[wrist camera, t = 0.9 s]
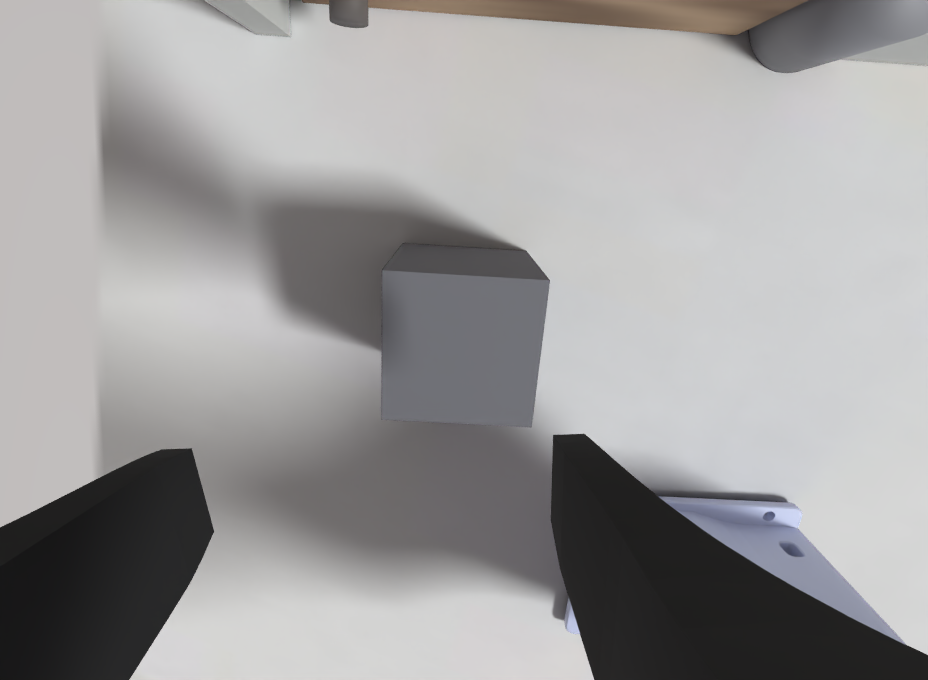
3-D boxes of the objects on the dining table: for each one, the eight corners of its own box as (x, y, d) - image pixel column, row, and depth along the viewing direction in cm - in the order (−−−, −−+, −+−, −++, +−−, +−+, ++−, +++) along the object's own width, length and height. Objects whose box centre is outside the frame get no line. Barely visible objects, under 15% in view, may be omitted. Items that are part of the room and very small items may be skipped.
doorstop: (525, 250, 17) (550, 280, 13) (514, 363, 19) (531, 427, 14) (403, 243, 17) (381, 270, 13) (401, 357, 19) (381, 419, 14)
